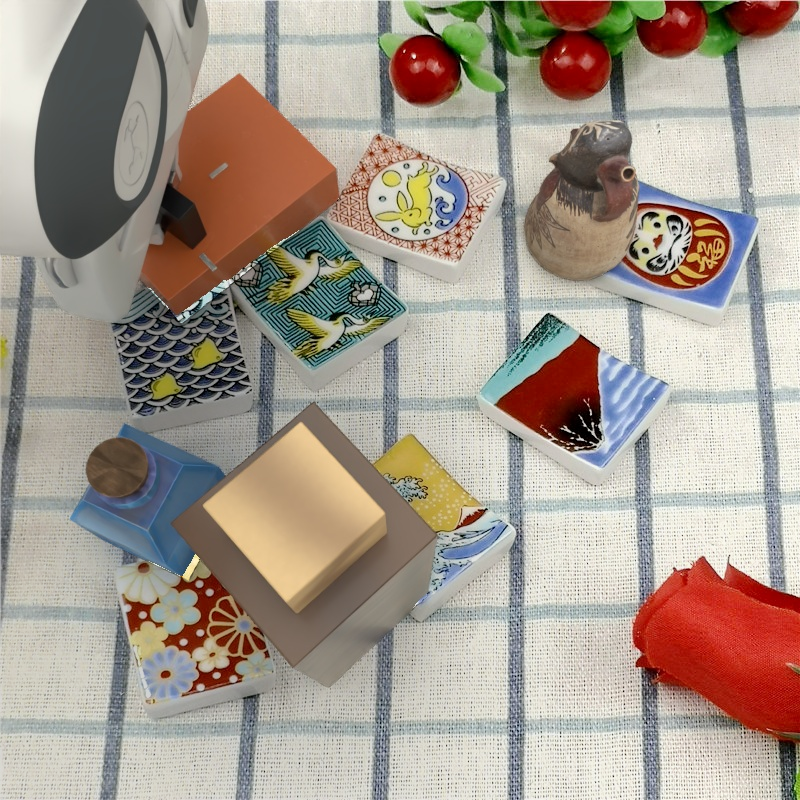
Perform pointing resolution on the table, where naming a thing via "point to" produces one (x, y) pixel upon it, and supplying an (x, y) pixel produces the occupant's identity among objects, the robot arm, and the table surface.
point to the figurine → (585, 204)
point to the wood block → (298, 516)
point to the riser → (346, 596)
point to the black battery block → (182, 217)
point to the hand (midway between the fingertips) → (160, 209)
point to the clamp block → (237, 191)
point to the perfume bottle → (143, 496)
